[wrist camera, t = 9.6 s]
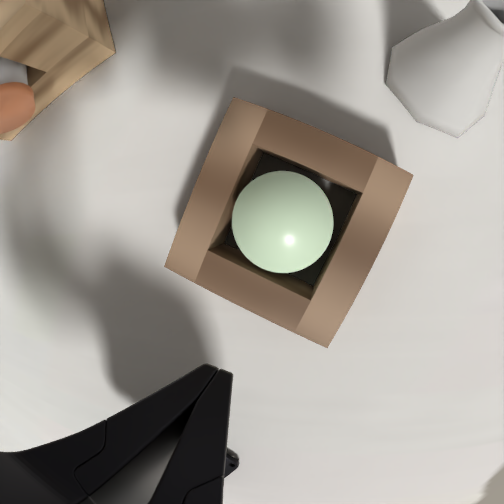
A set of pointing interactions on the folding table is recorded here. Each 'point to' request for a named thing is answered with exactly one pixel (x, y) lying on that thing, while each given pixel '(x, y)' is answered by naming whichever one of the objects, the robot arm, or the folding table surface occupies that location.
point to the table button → (282, 221)
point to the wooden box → (53, 44)
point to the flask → (450, 67)
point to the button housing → (239, 176)
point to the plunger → (14, 95)
